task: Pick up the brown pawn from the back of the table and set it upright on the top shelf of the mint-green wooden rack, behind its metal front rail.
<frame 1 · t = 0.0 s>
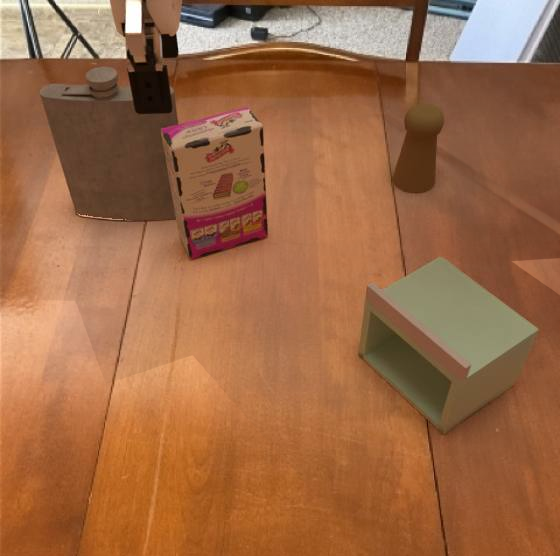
hand: (158, 83, 62), 27 cm above the table, tool pointing down, fingers open, 9 cm apart
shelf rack: (435, 369, 76), on the table
brown pawn: (413, 181, 98), on the table
hip flask: (132, 213, 94), on the table
candy bar box: (223, 239, 90), on the table
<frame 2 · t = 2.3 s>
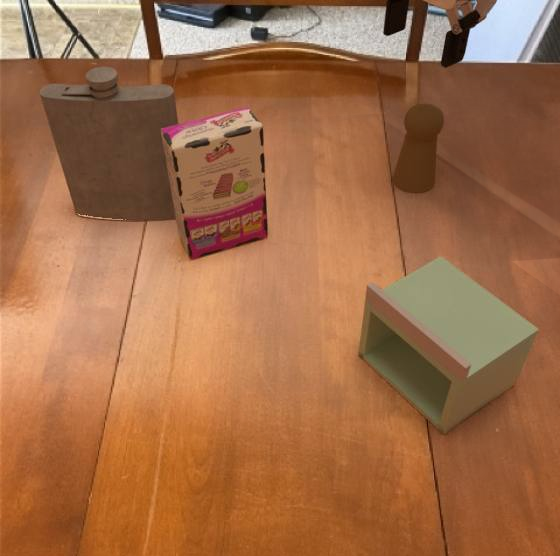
hand: (422, 47, 81), 20 cm above the table, tool pointing down, fingers open, 9 cm apart
nothing on the table moved.
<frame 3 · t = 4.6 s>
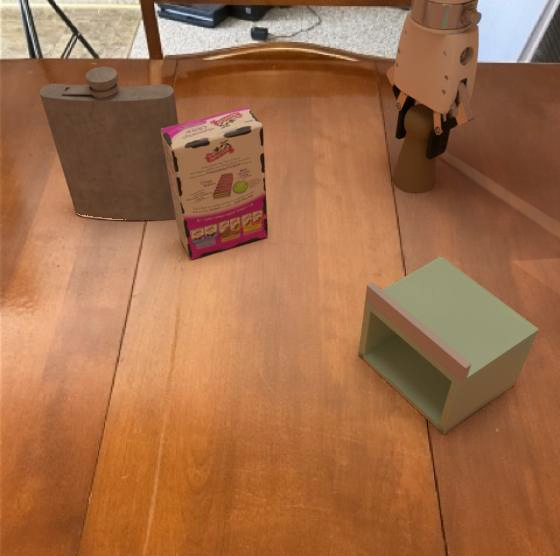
hand: (420, 144, 93), 6 cm above the table, tool pointing down, fingers closed on brown pawn, 5 cm apart
brown pawn: (413, 181, 98), on the table, touching gripper
everything else where it was.
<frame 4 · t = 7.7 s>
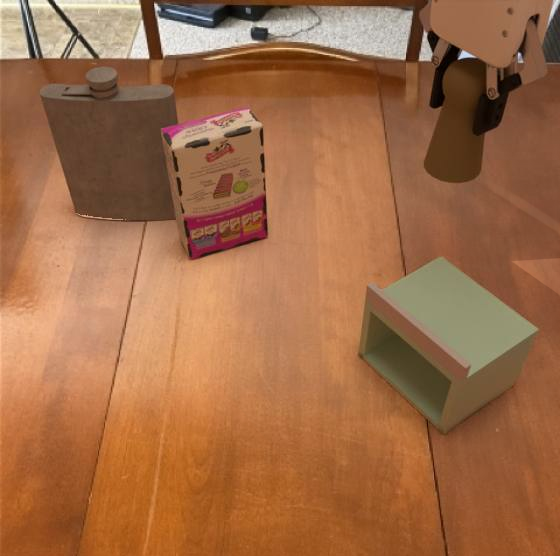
hand: (463, 115, 67), 22 cm above the table, tool pointing down, fingers closed on brown pawn, 5 cm apart
brown pawn: (451, 167, 72), point 16 cm above the table, touching gripper
everything else where it was.
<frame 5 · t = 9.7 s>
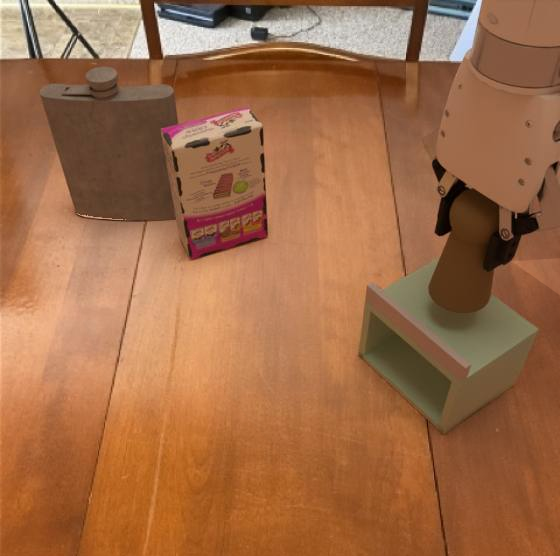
hand: (472, 244, 62), 18 cm above the table, tool pointing down, fingers closed on brown pawn, 5 cm apart
brown pawn: (458, 292, 67), point 12 cm above the table, touching gripper
everything else where it was.
when the fingers open (15 cm above the table, at t = 11.0 s): brown pawn stays where it is, resting on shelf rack.
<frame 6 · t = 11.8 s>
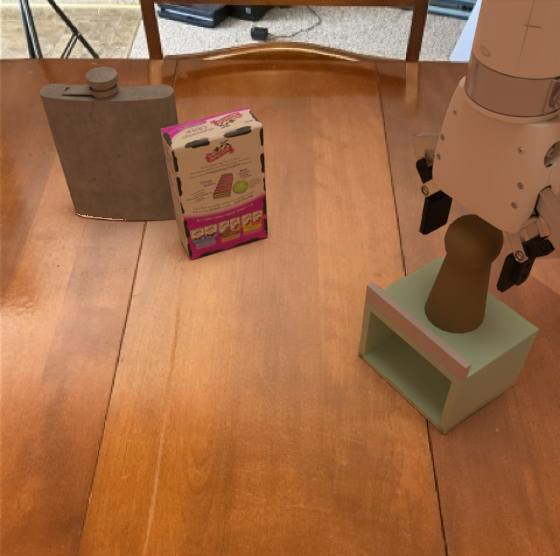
hand: (469, 255, 63), 16 cm above the table, tool pointing down, fingers open, 9 cm apart
brown pawn: (453, 312, 69), point 9 cm above the table, touching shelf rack
everything else where it was.
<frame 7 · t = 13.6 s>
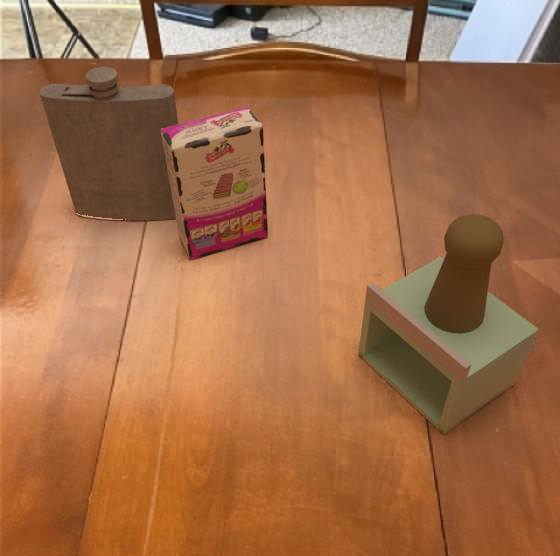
nothing on the table moved.
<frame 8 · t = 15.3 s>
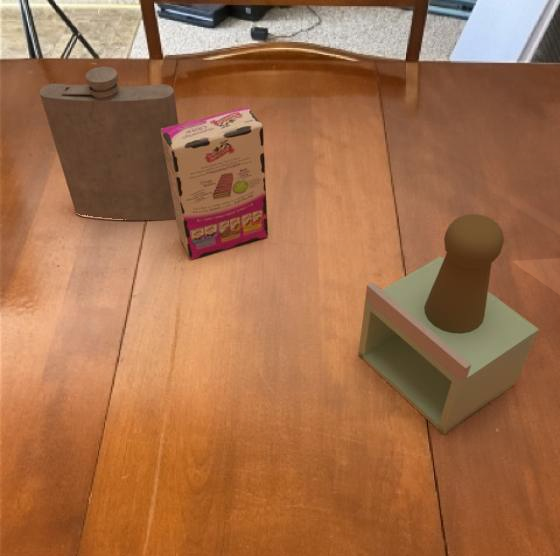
nothing on the table moved.
at the end: brown pawn inside the target area on the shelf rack (0.2 cm from its centre), point 8.8 cm above the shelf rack's base; brown pawn tilted 0°; the gripper is holding nothing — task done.
